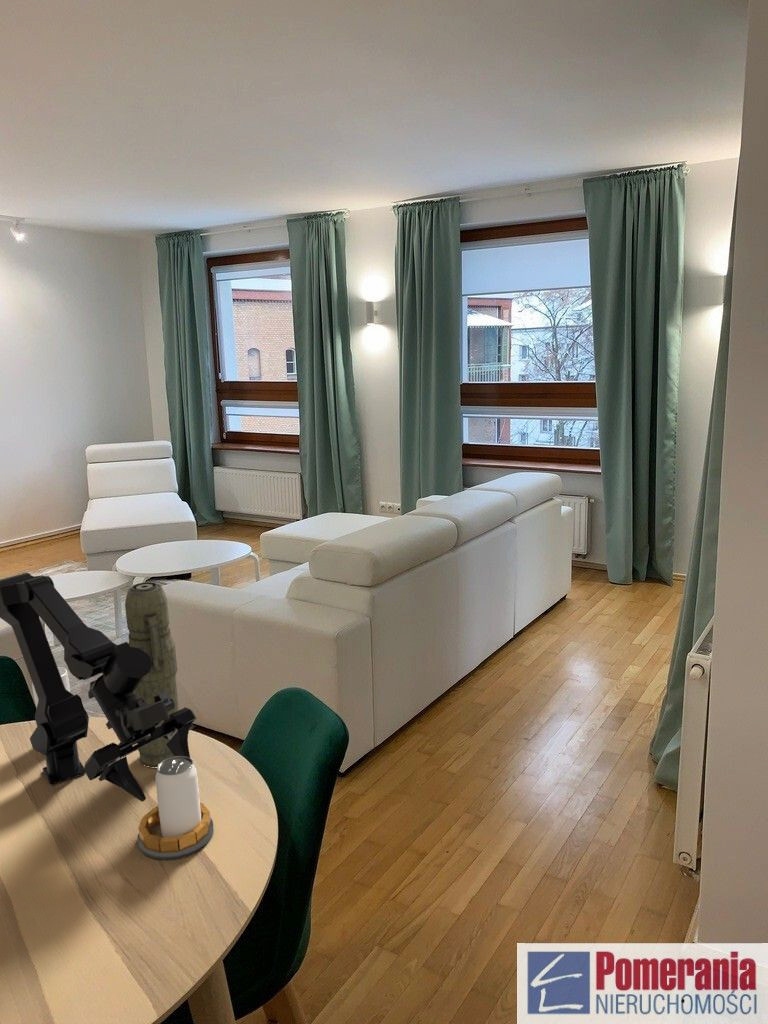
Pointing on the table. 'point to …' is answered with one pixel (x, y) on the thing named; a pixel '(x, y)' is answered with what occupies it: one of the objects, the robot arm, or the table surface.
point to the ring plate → (172, 847)
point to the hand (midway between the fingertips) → (168, 786)
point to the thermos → (153, 655)
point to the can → (177, 796)
